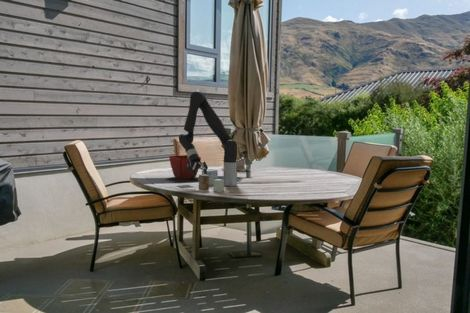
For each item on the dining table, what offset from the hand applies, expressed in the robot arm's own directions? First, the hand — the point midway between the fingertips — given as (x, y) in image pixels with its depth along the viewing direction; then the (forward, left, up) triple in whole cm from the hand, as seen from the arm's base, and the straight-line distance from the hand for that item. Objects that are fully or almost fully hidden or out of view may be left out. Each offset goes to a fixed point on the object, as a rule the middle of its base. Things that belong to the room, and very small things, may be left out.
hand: (200, 175), depth 294 cm
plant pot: (-13, -50, -10) cm, 52 cm away
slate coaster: (+6, -12, -10) cm, 16 cm away
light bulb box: (-15, -14, -10) cm, 23 cm away
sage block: (-7, +12, -10) cm, 17 cm away
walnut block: (0, +4, -10) cm, 10 cm away
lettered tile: (0, +4, -10) cm, 11 cm away
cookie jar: (-77, -74, -10) cm, 107 cm away
